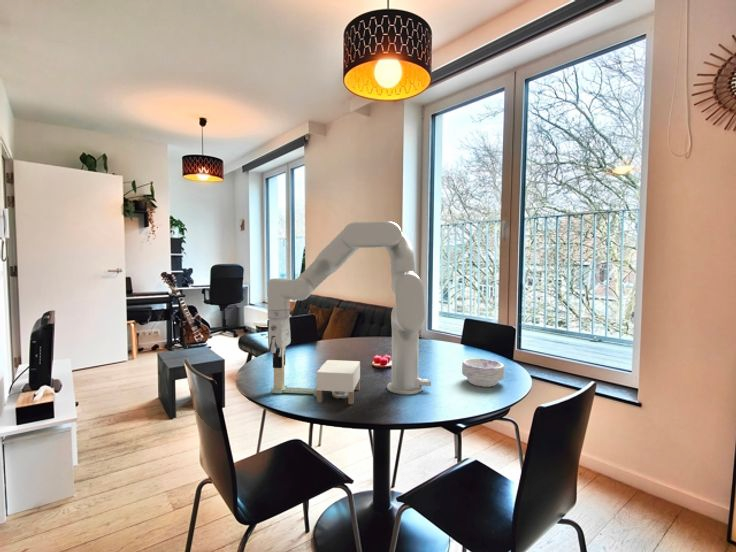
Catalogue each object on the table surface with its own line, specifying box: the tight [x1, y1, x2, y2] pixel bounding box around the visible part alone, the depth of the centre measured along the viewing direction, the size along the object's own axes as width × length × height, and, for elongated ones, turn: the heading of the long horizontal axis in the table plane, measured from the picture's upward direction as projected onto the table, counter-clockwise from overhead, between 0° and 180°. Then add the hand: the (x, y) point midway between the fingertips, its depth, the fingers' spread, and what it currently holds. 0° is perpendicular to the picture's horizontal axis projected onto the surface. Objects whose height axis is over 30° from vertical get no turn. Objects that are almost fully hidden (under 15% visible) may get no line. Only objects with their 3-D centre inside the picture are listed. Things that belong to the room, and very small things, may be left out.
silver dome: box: [331, 391, 348, 399], centre depth 133 cm, size 6×6×2 cm
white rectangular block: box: [316, 359, 361, 405], centre depth 132 cm, size 12×15×10 cm
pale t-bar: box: [270, 348, 323, 397], centre depth 134 cm, size 17×7×15 cm, turn 83°
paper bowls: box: [461, 357, 505, 388], centre depth 146 cm, size 15×15×8 cm
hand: (279, 366), depth 135 cm, fingers closed on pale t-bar, 2 cm apart
